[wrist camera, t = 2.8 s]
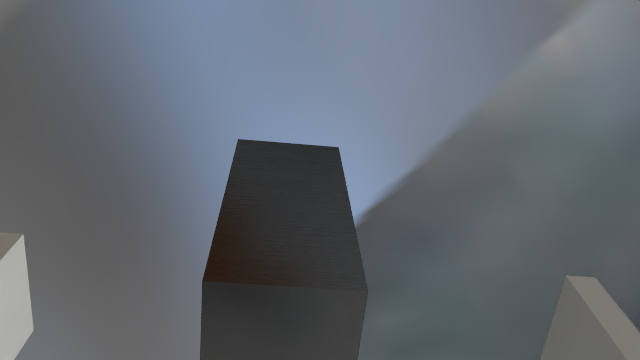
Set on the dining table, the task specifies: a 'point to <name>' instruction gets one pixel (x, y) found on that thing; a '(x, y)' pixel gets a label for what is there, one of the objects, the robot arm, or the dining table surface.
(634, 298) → the dining table surface
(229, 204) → the dark grey angular block
